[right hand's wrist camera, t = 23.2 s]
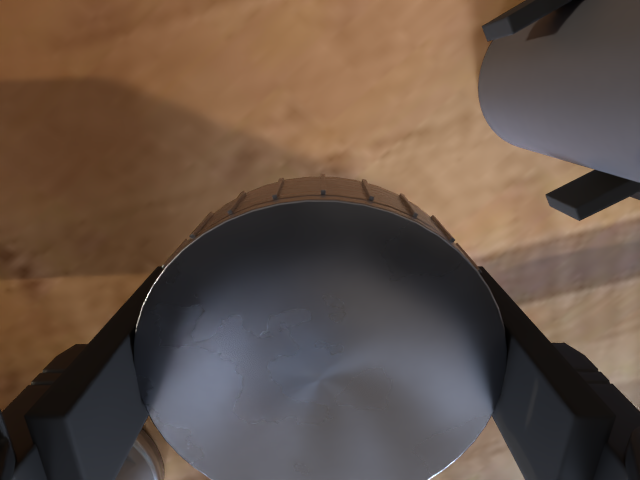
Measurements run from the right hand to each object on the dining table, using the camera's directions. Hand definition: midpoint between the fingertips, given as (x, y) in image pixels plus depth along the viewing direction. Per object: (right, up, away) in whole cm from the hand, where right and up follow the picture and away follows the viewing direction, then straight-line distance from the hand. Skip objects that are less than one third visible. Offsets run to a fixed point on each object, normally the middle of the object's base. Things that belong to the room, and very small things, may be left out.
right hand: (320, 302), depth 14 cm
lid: (0, -1, -3) cm, 4 cm away
